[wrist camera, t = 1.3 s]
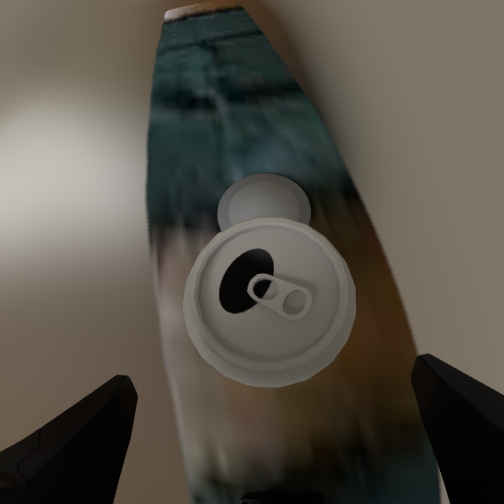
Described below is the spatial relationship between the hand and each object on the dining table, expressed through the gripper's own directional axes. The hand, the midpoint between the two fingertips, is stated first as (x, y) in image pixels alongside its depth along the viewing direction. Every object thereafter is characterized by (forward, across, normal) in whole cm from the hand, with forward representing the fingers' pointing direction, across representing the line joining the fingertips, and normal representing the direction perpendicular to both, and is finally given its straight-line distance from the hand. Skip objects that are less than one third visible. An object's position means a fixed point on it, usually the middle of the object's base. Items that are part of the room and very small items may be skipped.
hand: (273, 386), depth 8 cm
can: (+12, 0, +7) cm, 14 cm away
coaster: (+19, 0, -1) cm, 19 cm away
